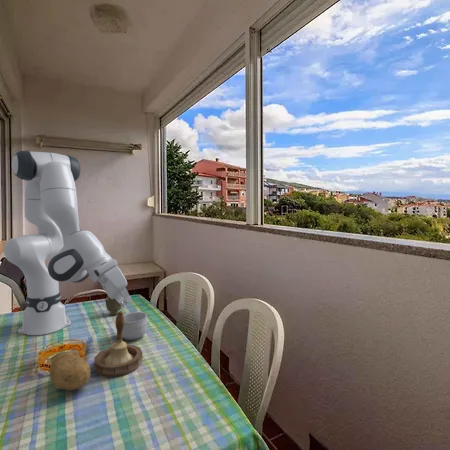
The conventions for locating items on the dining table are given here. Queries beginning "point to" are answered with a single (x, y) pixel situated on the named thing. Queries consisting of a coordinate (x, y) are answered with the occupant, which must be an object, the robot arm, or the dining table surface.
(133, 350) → the tray
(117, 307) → the cup
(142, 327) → the teacup
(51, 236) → the robot arm
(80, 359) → the potato
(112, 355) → the hand bell
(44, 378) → the dining table surface
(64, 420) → the dining table surface
